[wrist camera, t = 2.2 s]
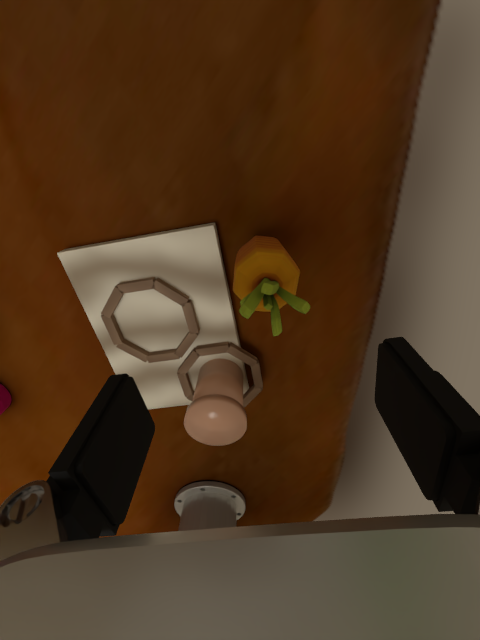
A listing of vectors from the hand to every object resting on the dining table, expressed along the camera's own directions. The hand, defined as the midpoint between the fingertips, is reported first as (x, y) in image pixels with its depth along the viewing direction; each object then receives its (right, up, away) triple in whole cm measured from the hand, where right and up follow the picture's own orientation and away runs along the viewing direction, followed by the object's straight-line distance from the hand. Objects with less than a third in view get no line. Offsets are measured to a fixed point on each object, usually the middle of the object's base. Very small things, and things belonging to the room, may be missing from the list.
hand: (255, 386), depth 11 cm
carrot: (+1, +10, +18) cm, 21 cm away
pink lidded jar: (-3, -5, +24) cm, 25 cm away
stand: (-8, +1, +23) cm, 25 cm away
